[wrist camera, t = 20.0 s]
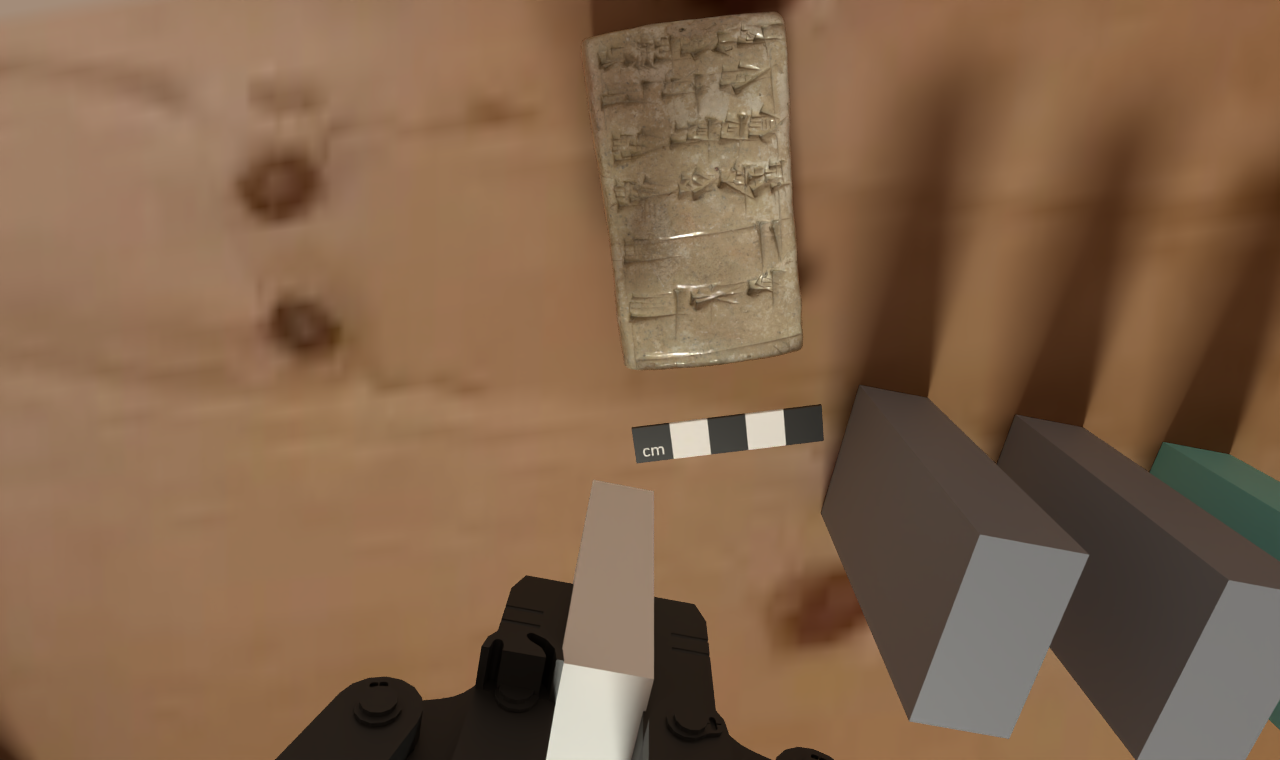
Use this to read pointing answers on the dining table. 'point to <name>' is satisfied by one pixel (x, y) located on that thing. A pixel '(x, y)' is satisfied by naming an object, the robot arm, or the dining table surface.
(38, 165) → the dining table surface
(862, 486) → the domino
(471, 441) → the dining table surface
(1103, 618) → the domino
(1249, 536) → the domino
